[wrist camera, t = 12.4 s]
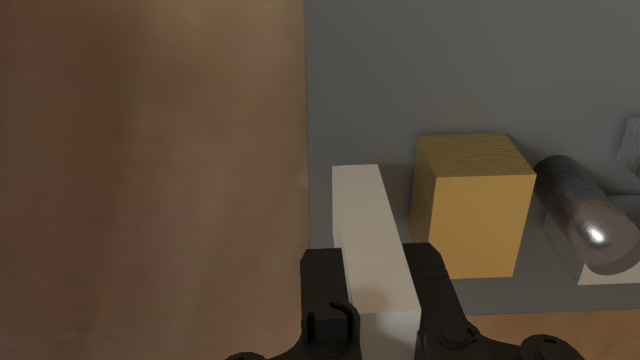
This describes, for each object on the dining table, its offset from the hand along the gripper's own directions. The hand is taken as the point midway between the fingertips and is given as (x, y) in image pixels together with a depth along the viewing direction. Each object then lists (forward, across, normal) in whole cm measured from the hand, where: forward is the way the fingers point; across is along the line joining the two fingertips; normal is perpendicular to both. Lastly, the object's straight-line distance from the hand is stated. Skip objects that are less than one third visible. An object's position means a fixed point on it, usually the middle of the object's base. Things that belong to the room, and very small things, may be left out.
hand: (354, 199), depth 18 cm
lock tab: (+1, +4, 0) cm, 4 cm away
